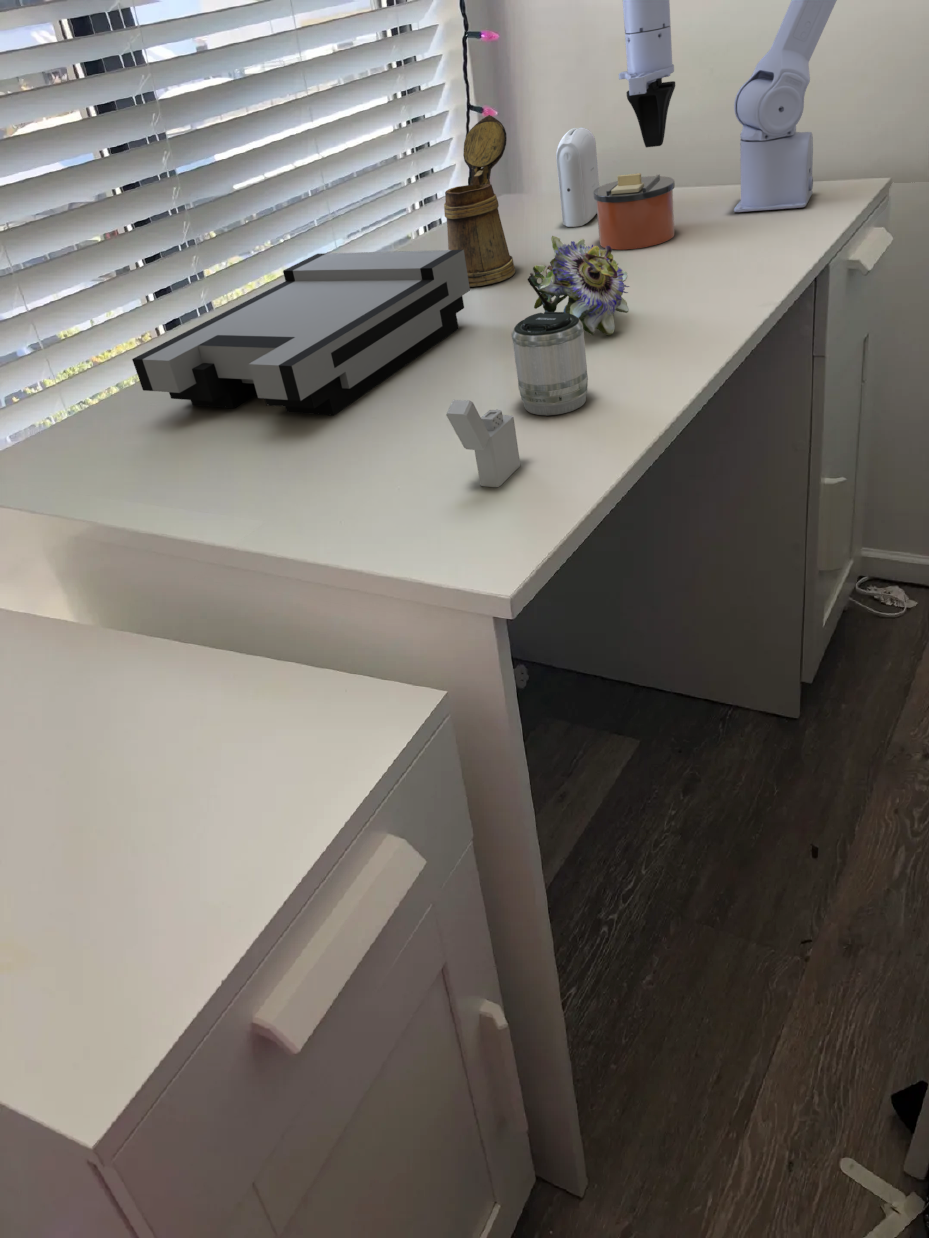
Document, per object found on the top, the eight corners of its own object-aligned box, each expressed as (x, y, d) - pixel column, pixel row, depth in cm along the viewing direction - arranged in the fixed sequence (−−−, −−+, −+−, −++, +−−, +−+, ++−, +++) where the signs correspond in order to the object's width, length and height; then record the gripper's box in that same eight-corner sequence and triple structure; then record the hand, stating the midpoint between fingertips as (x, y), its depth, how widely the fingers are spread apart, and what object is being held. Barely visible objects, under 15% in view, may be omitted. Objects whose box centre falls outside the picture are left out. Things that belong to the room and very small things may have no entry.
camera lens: (573, 419, 88) (563, 331, 84) (509, 415, 91) (497, 330, 87) (600, 391, 92) (593, 306, 88) (539, 388, 95) (529, 306, 91)
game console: (154, 423, 104) (127, 347, 100) (332, 320, 126) (317, 253, 122) (310, 437, 94) (288, 352, 90) (474, 322, 116) (463, 249, 112)
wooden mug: (538, 256, 137) (522, 110, 127) (499, 287, 127) (477, 132, 117) (480, 258, 140) (459, 118, 131) (437, 289, 131) (411, 139, 121)
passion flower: (610, 382, 108) (589, 315, 97) (522, 360, 113) (493, 293, 102) (652, 296, 110) (636, 221, 100) (563, 278, 115) (539, 204, 104)
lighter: (502, 463, 83) (488, 369, 78) (521, 464, 82) (507, 370, 77) (461, 503, 78) (443, 405, 73) (481, 505, 77) (464, 407, 72)
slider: (644, 186, 130) (643, 172, 129) (638, 192, 128) (637, 178, 127) (617, 189, 132) (616, 175, 131) (611, 194, 130) (610, 180, 129)
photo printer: (588, 226, 146) (580, 134, 139) (559, 228, 148) (550, 137, 141) (604, 208, 154) (597, 120, 147) (577, 211, 156) (569, 124, 149)
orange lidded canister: (684, 226, 137) (682, 170, 134) (666, 247, 130) (663, 189, 126) (609, 231, 142) (605, 177, 138) (587, 252, 134) (582, 196, 130)
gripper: (630, 28, 134) (638, 138, 141) (601, 42, 123) (610, 160, 130) (683, 19, 131) (688, 132, 138) (658, 33, 120) (664, 155, 128)
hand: (654, 146), depth 134 cm, fingers closed
